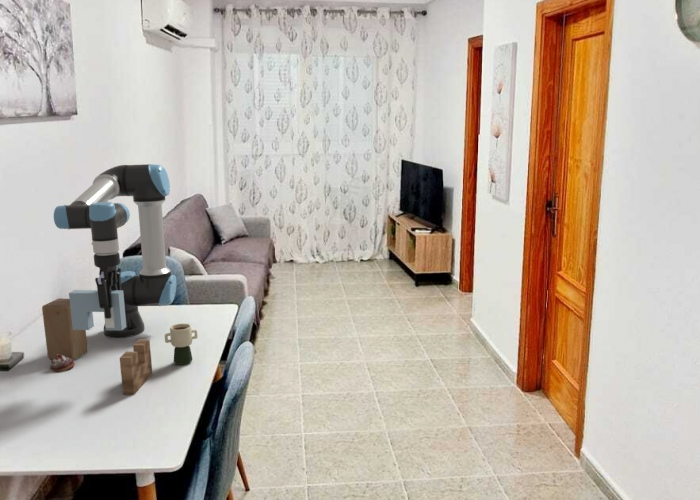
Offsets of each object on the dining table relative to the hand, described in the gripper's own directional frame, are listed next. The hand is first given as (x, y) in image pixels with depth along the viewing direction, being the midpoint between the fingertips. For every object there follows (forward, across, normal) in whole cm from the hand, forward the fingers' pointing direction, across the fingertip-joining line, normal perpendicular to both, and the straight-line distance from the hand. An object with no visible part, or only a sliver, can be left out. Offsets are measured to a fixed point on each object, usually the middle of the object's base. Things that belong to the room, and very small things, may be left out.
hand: (113, 325), depth 213 cm
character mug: (+19, -16, +16) cm, 30 cm away
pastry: (+19, -10, -24) cm, 32 cm away
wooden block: (+19, -20, -27) cm, 39 cm away
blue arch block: (+1, 0, -4) cm, 5 cm away
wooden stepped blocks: (+19, +2, +7) cm, 20 cm away
